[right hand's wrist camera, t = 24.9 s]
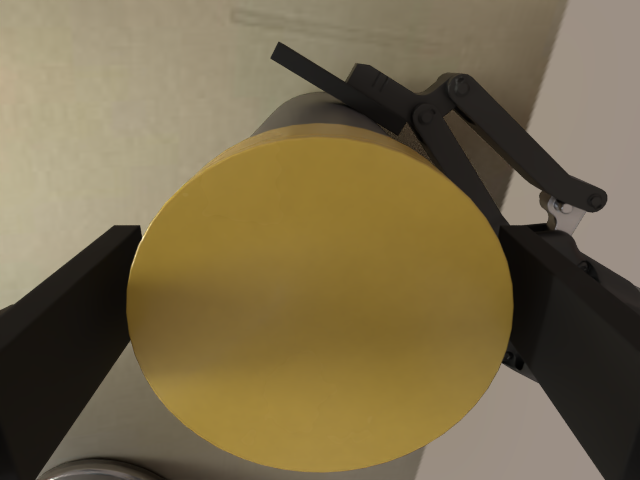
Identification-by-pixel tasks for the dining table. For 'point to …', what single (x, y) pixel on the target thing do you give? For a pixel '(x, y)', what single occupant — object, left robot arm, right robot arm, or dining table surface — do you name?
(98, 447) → the dining table surface
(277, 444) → the lid
